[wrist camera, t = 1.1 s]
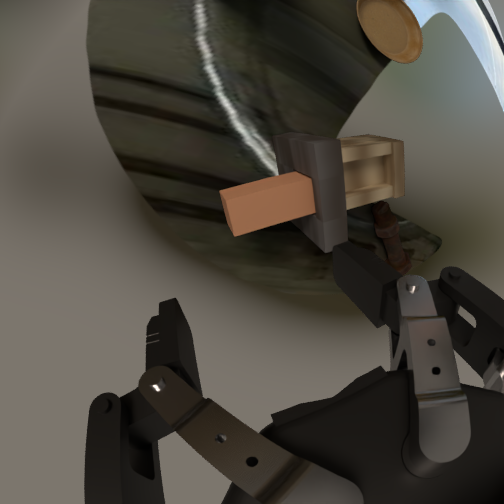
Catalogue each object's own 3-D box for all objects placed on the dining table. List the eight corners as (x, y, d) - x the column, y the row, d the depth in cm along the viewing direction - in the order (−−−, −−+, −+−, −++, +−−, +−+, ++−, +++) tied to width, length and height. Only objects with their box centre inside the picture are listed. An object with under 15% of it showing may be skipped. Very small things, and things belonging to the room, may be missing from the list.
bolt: (369, 196, 45) (390, 256, 52) (359, 214, 43) (382, 274, 50) (398, 195, 40) (415, 258, 47) (390, 214, 38) (408, 277, 45)
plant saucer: (354, 57, 31) (365, 55, 29) (340, -18, 24) (349, -23, 22) (417, 70, 34) (427, 70, 32) (405, 4, 27) (414, 1, 25)
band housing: (285, 216, 40) (325, 253, 30) (271, 135, 34) (313, 143, 24) (372, 193, 42) (422, 218, 32) (367, 122, 36) (423, 130, 26)
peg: (227, 223, 32) (234, 236, 29) (219, 190, 30) (225, 200, 27) (326, 195, 34) (343, 204, 30) (323, 165, 32) (340, 171, 28)
